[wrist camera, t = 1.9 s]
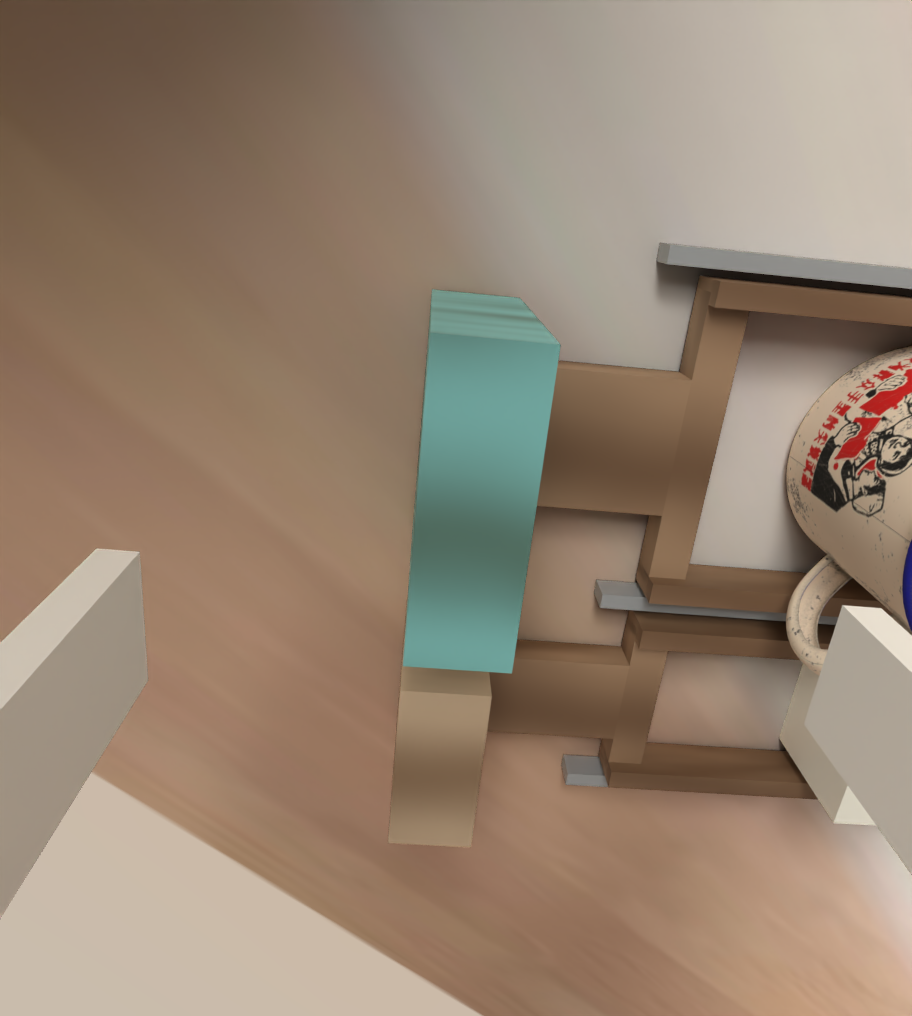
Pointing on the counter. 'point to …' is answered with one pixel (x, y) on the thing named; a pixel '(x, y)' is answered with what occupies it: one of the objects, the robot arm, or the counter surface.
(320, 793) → the counter surface
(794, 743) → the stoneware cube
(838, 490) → the teacup with lid
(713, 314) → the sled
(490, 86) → the counter surface
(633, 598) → the lane rails
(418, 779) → the sled
